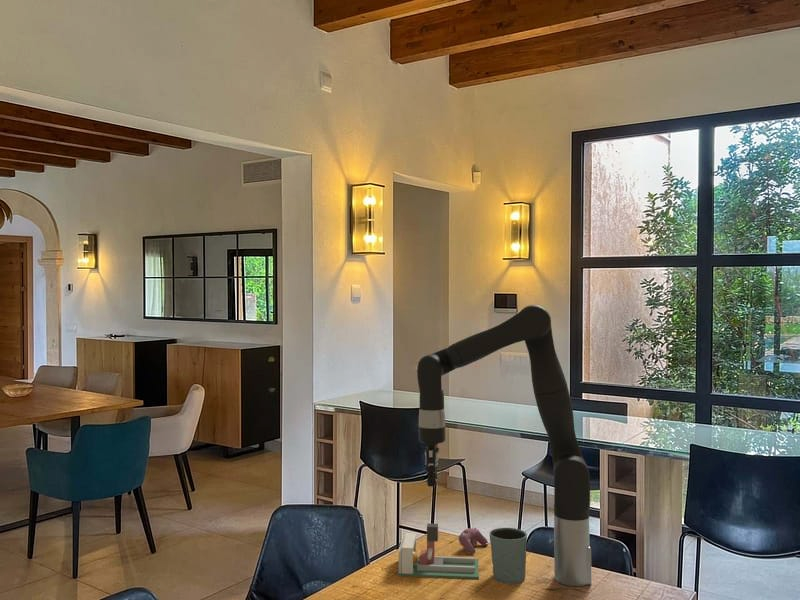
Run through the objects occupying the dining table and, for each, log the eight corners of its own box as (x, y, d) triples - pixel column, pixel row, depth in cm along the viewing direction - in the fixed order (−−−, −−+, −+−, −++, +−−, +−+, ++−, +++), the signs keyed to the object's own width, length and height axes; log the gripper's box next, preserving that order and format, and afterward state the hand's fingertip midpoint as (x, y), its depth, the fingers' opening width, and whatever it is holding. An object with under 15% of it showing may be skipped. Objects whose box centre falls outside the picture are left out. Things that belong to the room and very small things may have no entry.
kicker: (444, 556, 192) (444, 518, 192) (442, 575, 178) (442, 533, 179) (422, 555, 193) (421, 517, 193) (418, 574, 179) (418, 533, 179)
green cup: (527, 586, 173) (526, 540, 173) (488, 583, 175) (488, 538, 175) (527, 571, 183) (527, 528, 183) (490, 569, 185) (490, 526, 185)
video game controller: (478, 548, 205) (469, 526, 207) (490, 544, 203) (481, 522, 205) (462, 558, 197) (453, 535, 199) (474, 554, 195) (465, 531, 197)
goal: (416, 557, 192) (416, 533, 192) (412, 573, 180) (412, 548, 180) (403, 556, 193) (403, 532, 193) (398, 573, 180) (398, 547, 180)
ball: (402, 552, 189) (408, 564, 188) (400, 557, 185) (407, 570, 184) (414, 546, 188) (420, 558, 188) (413, 551, 184) (419, 563, 184)
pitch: (478, 561, 191) (478, 554, 191) (478, 579, 178) (478, 571, 178) (402, 558, 193) (402, 551, 193) (398, 575, 180) (398, 568, 180)
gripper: (444, 429, 179) (444, 489, 179) (446, 421, 193) (446, 476, 193) (416, 429, 180) (417, 488, 180) (420, 420, 194) (420, 475, 194)
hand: (432, 482), depth 186 cm, fingers open, 8 cm apart
